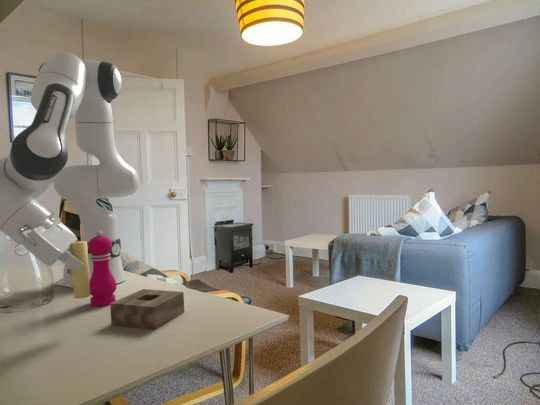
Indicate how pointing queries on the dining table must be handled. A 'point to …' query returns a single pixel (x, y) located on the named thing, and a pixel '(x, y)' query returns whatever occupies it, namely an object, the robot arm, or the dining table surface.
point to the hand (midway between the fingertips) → (83, 265)
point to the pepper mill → (101, 271)
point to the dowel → (81, 270)
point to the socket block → (147, 308)
